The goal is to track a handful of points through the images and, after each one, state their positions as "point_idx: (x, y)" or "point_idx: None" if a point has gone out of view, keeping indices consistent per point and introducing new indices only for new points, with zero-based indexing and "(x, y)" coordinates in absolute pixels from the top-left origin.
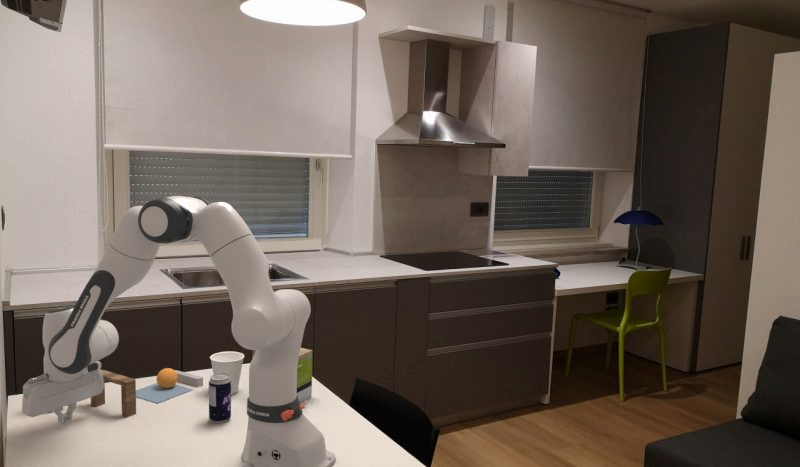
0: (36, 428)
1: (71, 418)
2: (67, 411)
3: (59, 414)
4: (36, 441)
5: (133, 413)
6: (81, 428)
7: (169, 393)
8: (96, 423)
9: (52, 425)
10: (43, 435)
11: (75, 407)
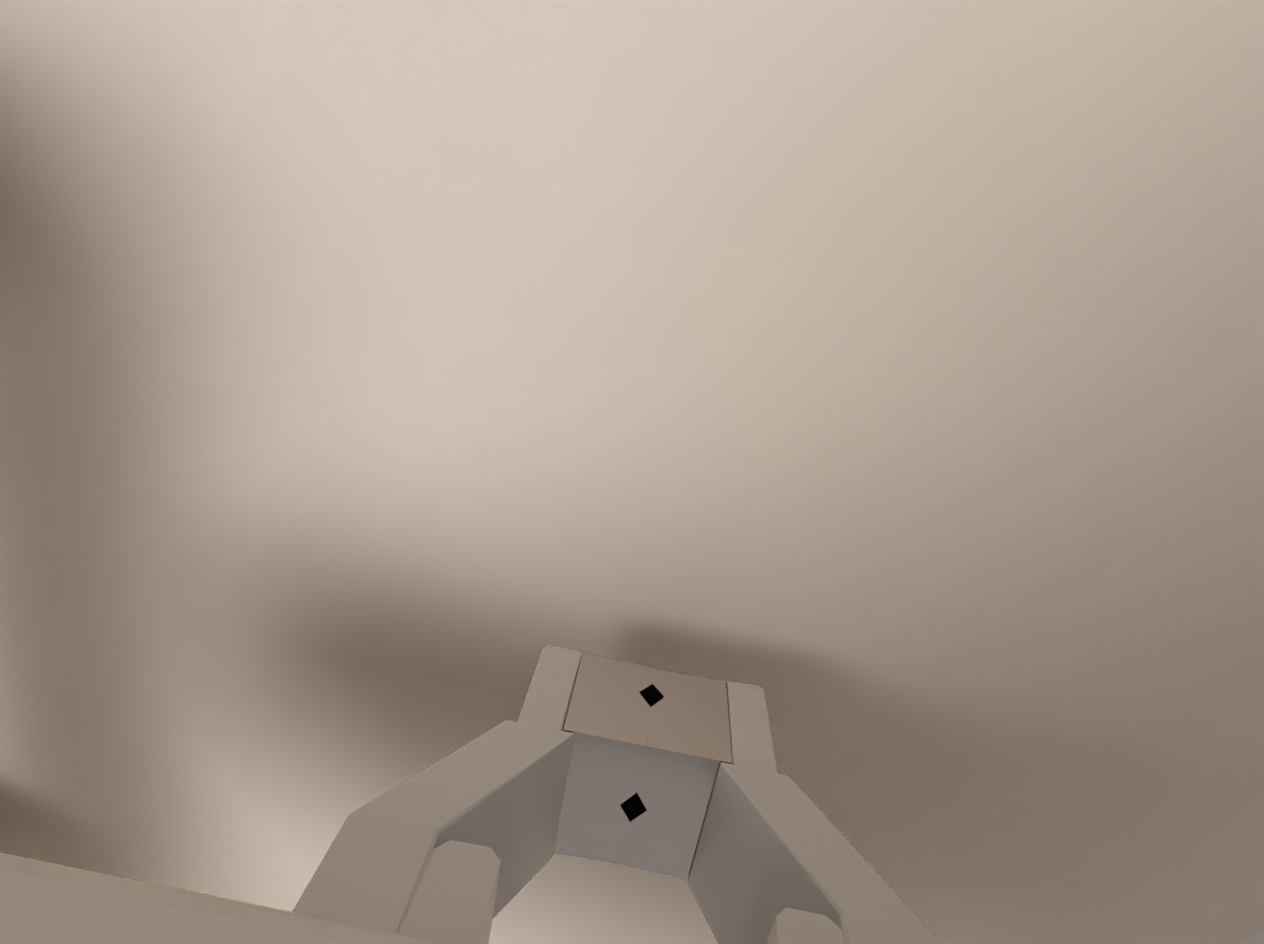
0: None
1: (565, 660)
2: (533, 852)
3: (863, 858)
4: (1243, 653)
5: None
6: (572, 382)
7: None
8: (295, 301)
9: None
10: (1008, 713)
11: (395, 796)
